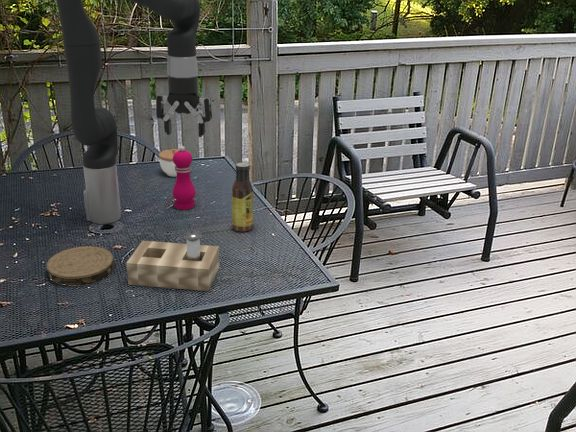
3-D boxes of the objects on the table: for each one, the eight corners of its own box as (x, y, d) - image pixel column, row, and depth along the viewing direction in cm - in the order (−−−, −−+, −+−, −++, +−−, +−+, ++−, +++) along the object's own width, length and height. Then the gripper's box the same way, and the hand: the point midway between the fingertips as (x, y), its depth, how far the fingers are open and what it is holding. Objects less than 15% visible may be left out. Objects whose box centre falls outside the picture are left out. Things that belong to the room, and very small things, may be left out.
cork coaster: (91, 250, 157) (90, 240, 156) (126, 270, 148) (125, 260, 147) (35, 272, 146) (34, 261, 145) (70, 295, 137) (69, 284, 136)
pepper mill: (168, 208, 184) (165, 147, 176) (180, 200, 190) (178, 141, 182) (188, 212, 182) (185, 151, 173) (200, 203, 188) (198, 144, 179)
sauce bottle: (249, 233, 169) (250, 169, 161) (229, 231, 170) (228, 167, 162) (255, 224, 175) (256, 162, 167) (235, 222, 176) (235, 160, 168)
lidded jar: (160, 179, 206) (158, 154, 202) (160, 169, 216) (158, 145, 212) (190, 178, 208) (189, 153, 205) (189, 168, 218) (188, 144, 214)
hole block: (128, 284, 141) (126, 263, 139) (144, 260, 152) (142, 240, 150) (209, 291, 140) (208, 269, 137) (219, 266, 151) (218, 246, 148)
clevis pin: (184, 280, 144) (182, 237, 139) (188, 272, 148) (186, 229, 143) (200, 281, 144) (199, 238, 139) (204, 273, 148) (203, 231, 143)
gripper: (150, 74, 144) (154, 137, 151) (206, 77, 143) (208, 141, 150) (159, 69, 151) (163, 129, 158) (213, 72, 150) (214, 133, 157)
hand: (185, 135), depth 154 cm, fingers open, 8 cm apart
